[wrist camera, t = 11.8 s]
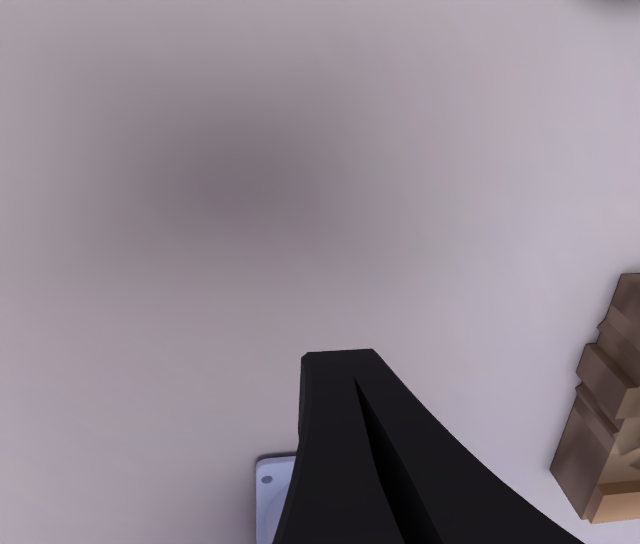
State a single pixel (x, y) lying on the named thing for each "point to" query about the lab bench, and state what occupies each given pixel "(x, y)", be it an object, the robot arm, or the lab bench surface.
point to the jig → (606, 418)
